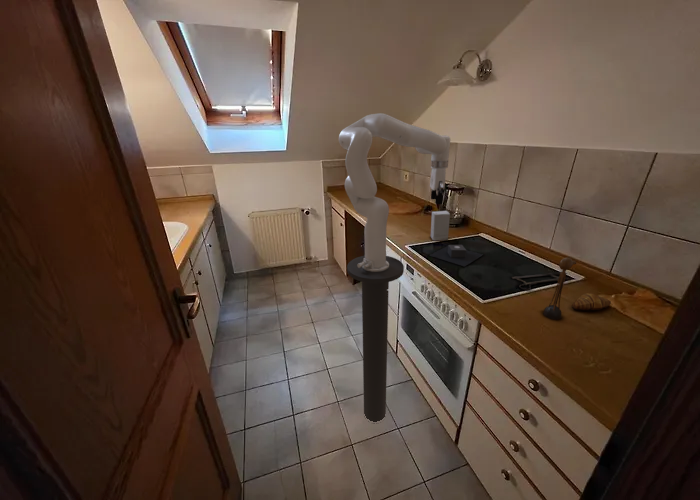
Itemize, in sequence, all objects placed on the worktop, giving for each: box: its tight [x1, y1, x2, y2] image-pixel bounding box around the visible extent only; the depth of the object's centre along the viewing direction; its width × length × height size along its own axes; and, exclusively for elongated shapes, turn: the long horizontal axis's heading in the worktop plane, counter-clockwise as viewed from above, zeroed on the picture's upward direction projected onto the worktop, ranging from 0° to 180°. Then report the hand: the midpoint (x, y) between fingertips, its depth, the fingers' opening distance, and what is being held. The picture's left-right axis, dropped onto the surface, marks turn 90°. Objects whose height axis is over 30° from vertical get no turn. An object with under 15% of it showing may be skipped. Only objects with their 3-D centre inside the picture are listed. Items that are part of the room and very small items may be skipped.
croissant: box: [571, 292, 612, 312], centre depth 97 cm, size 14×7×5 cm, turn 100°
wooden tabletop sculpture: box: [542, 257, 577, 321], centre depth 91 cm, size 6×5×20 cm
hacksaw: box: [511, 270, 572, 291], centre depth 114 cm, size 24×10×2 cm, turn 96°
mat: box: [428, 245, 484, 268], centre depth 140 cm, size 18×18×1 cm
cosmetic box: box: [430, 210, 451, 242], centre depth 158 cm, size 8×6×15 cm
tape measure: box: [447, 244, 467, 258], centre depth 139 cm, size 7×6×4 cm
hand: (436, 201), depth 142 cm, fingers open, 9 cm apart
